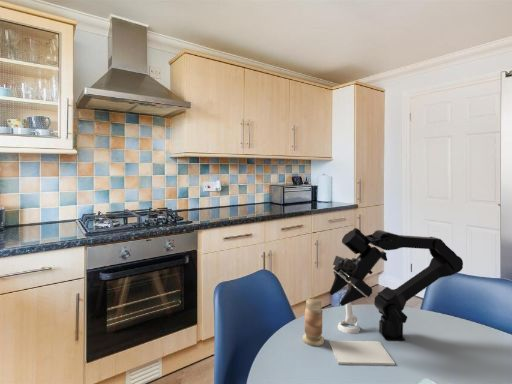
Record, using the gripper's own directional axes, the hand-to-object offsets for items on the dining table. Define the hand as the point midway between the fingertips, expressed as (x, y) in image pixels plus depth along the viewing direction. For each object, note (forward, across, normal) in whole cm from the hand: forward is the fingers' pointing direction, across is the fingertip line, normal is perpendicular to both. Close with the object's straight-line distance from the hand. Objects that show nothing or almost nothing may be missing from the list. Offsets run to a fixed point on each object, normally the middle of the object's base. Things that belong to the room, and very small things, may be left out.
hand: (335, 299), depth 103 cm
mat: (+7, +9, +12) cm, 17 cm away
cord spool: (+15, 0, +3) cm, 15 cm away
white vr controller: (+6, -7, +15) cm, 17 cm away
